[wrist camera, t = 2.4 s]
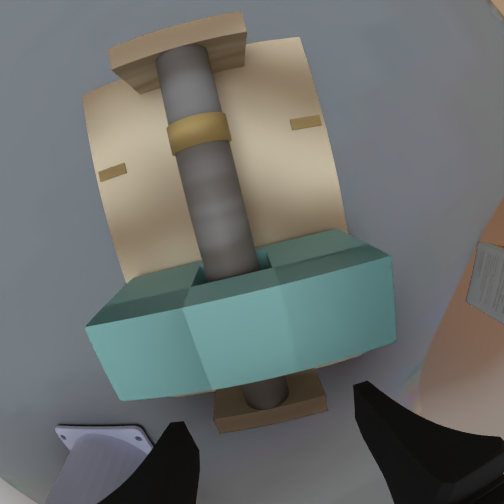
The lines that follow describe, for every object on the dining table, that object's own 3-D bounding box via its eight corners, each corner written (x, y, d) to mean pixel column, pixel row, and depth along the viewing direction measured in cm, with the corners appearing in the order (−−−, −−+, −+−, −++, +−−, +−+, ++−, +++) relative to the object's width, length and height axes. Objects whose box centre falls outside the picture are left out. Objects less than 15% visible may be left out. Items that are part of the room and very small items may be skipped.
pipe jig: (357, 348, 17) (389, 394, 12) (175, 389, 17) (161, 443, 12) (296, 43, 13) (317, -2, 8) (88, 98, 13) (42, 75, 8)
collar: (346, 289, 14) (396, 341, 9) (153, 334, 14) (120, 401, 9) (336, 228, 14) (390, 255, 8) (132, 277, 14) (84, 327, 8)
